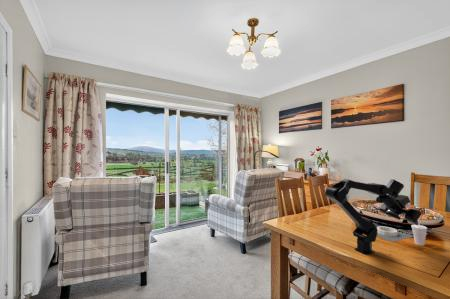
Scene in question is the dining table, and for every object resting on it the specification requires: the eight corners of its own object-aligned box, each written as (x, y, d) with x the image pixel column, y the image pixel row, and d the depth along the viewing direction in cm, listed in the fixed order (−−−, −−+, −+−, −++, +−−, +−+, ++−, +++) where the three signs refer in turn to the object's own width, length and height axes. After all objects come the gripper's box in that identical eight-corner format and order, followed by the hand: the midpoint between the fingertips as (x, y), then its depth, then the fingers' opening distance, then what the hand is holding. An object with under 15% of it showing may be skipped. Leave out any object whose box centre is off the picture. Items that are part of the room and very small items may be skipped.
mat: (393, 242, 116) (393, 242, 116) (361, 231, 133) (361, 230, 133) (414, 236, 124) (414, 235, 124) (382, 227, 140) (382, 226, 140)
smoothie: (411, 244, 113) (410, 218, 114) (412, 241, 118) (411, 215, 118) (427, 248, 109) (426, 221, 109) (428, 244, 113) (427, 218, 113)
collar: (390, 237, 122) (390, 233, 122) (373, 231, 131) (373, 227, 131) (401, 234, 125) (401, 230, 126) (383, 229, 134) (383, 225, 134)
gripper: (417, 193, 102) (437, 215, 104) (382, 187, 121) (399, 205, 123) (404, 211, 101) (424, 232, 103) (371, 202, 119) (388, 220, 121)
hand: (408, 221), depth 112 cm, fingers open, 9 cm apart
